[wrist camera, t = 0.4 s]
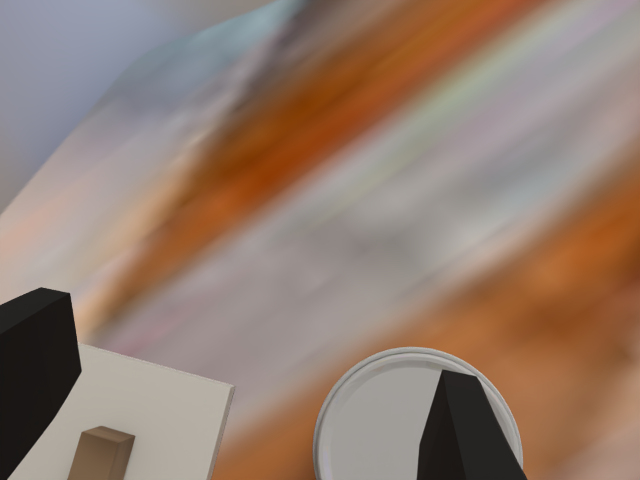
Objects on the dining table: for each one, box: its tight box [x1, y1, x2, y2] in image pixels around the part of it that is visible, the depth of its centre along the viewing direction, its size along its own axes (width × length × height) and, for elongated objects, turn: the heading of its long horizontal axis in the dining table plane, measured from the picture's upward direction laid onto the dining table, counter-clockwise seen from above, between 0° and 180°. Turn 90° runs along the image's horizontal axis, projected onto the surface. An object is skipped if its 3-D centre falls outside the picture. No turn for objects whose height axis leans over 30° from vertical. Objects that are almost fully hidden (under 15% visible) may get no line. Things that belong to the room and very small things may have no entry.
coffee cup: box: [313, 347, 523, 480], centre depth 29 cm, size 9×9×12 cm
